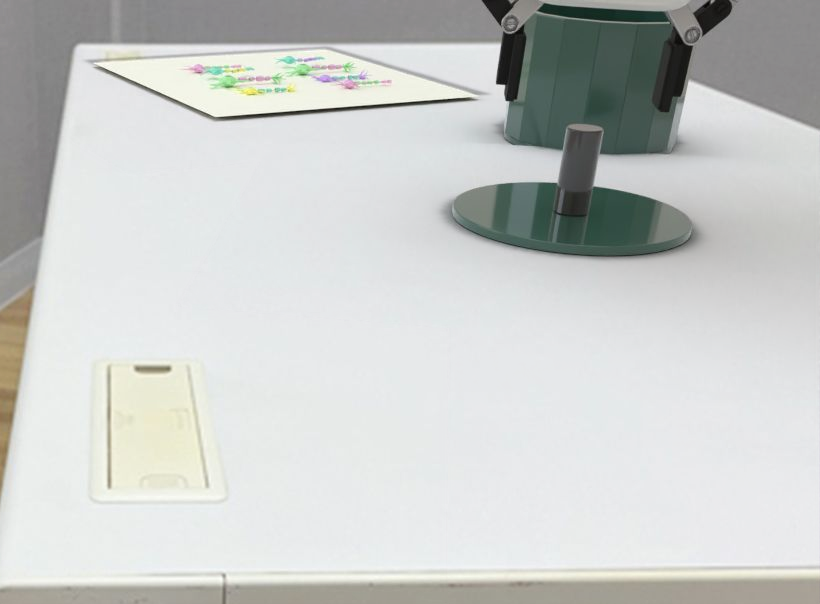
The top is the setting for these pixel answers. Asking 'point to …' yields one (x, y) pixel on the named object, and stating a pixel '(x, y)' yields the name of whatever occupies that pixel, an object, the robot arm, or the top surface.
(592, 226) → the tin lid
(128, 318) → the top surface
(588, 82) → the tin
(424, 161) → the top surface
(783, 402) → the top surface
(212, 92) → the printed paper
